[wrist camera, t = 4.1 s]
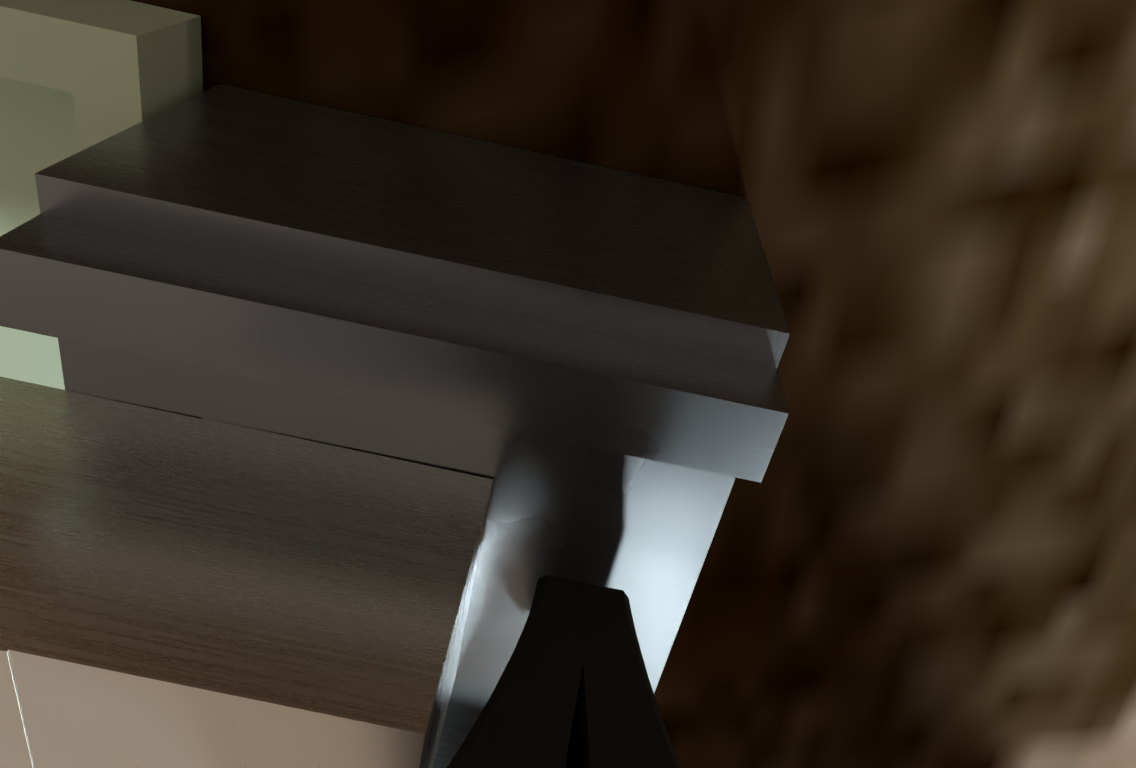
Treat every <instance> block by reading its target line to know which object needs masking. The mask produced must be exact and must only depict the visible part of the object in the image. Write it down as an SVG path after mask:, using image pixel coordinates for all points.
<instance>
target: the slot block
mask: <svg viewBox="0 0 1136 768" xmlns="http://www.w3.org/2000/svg"><path fill="white" fill-rule="evenodd" d="M35 180H36V187H37V194H38V201H39V208H40V215H38V216H36V217H34V218H32V219H31V220H29V221H27V222H25V223H23V224H22V225H20V226H18V227H16V228H14V229H13V230H11V231H9V232H7V233H5V234H4V235H2V236H0V326H3V327H7V328H12V329H17V330H22V331H27V332H32V333H37V334H41V335H46V336H51V337H56V338H58V343H59V350H60V357H61V364H62V372H63V379H64V386H65V390H67V391H72V392H76V393H81V394H86V395H91V396H95V397H100V398H105V399H109V400H114V401H119V402H124V403H128V404H133V405H138V406H142V407H147V408H152V409H157V410H161V411H166V412H171V413H176V414H180V415H185V416H190V417H194V418H199V419H202V418H205V419H210V420H215V421H219V422H224V423H229V424H233V425H238V426H243V427H248V428H252V429H257V430H262V431H266V432H271V433H276V434H281V435H285V436H290V437H295V438H299V439H304V440H309V441H314V442H318V443H323V444H328V445H332V446H337V447H342V448H347V449H351V450H356V451H361V452H365V453H370V454H375V455H380V456H384V457H389V458H394V459H398V460H403V461H408V462H413V463H417V464H422V465H427V466H431V467H436V468H441V469H446V470H450V471H455V472H460V473H465V474H469V475H474V476H479V477H483V478H488V479H493V483H492V488H491V494H490V499H489V504H488V509H487V515H486V520H485V525H484V530H483V536H482V541H481V546H480V551H479V556H478V562H477V567H476V572H475V577H474V583H473V588H472V593H471V598H470V604H469V609H468V614H467V619H466V625H465V630H464V635H463V640H462V645H461V651H460V656H459V661H458V666H457V672H456V676H455V680H454V684H453V688H452V692H451V696H450V700H449V704H448V708H447V712H446V716H445V720H444V724H443V728H442V732H441V736H440V740H439V744H438V748H437V752H436V756H435V760H434V764H433V768H447V767H448V765H449V763H450V762H451V760H452V759H453V757H454V756H455V754H456V753H457V751H458V750H459V748H460V747H461V745H462V743H463V742H464V740H465V738H466V737H467V735H468V733H469V732H470V730H471V728H472V727H473V725H474V723H475V722H476V720H477V718H478V717H479V715H480V713H481V712H482V710H483V708H484V707H485V705H486V703H487V702H488V700H489V698H490V696H491V694H492V693H493V691H494V689H495V687H496V685H497V683H498V681H499V679H500V677H501V675H502V673H503V671H504V669H505V667H506V665H507V663H508V661H509V659H510V657H511V655H512V653H513V651H514V649H515V647H516V645H517V642H518V640H519V638H520V635H521V633H522V631H523V628H524V626H525V623H526V621H527V618H528V615H529V612H530V608H531V604H532V600H533V596H534V592H535V588H536V584H537V580H538V579H540V578H542V577H544V576H546V575H549V576H554V577H559V578H564V579H569V580H574V581H579V582H584V583H589V584H594V585H599V586H603V587H608V588H613V589H618V590H623V591H624V592H625V594H626V595H627V596H628V598H629V602H630V608H631V613H632V617H633V622H634V626H635V630H636V634H637V638H638V642H639V646H640V650H641V653H642V657H643V660H644V663H645V667H646V670H647V674H648V677H649V680H650V683H651V686H652V690H653V693H655V690H656V687H657V685H658V682H659V679H660V677H661V674H662V672H663V669H664V666H665V664H666V661H667V658H668V656H669V653H670V650H671V648H672V645H673V642H674V640H675V637H676V634H677V632H678V629H679V627H680V624H681V621H682V619H683V616H684V613H685V611H686V608H687V605H688V603H689V600H690V597H691V595H692V592H693V590H694V587H695V584H696V582H697V579H698V576H699V574H700V571H701V568H702V566H703V563H704V560H705V558H706V555H707V553H708V550H709V547H710V545H711V542H712V539H713V537H714V534H715V531H716V529H717V526H718V523H719V521H720V518H721V515H722V513H723V510H724V508H725V505H726V502H727V500H728V497H729V494H730V492H731V489H732V486H733V484H734V481H735V478H741V479H745V480H750V481H755V482H760V483H761V482H762V479H763V477H764V474H765V472H766V469H767V467H768V464H769V462H770V459H771V457H772V454H773V452H774V449H775V447H776V444H777V442H778V439H779V437H780V434H781V432H782V429H783V427H784V424H785V422H786V419H787V417H788V414H789V413H788V409H787V405H786V402H785V398H784V394H783V390H782V387H781V383H780V379H779V376H778V372H777V367H778V365H779V362H780V359H781V357H782V354H783V351H784V349H785V346H786V344H787V341H788V338H789V336H790V332H789V328H788V325H787V322H786V319H785V316H784V313H783V310H782V306H781V303H780V300H779V297H778V294H777V291H776V288H775V284H774V281H773V278H772V275H771V272H770V269H769V266H768V262H767V259H766V256H765V253H764V250H763V247H762V244H761V240H760V237H759V234H758V231H757V228H756V225H755V222H754V218H753V215H752V212H751V209H750V206H749V203H748V200H747V198H746V197H741V196H736V195H732V194H727V193H723V192H718V191H713V190H709V189H704V188H700V187H695V186H690V185H686V184H681V183H676V182H672V181H667V180H663V179H658V178H653V177H649V176H644V175H640V174H635V173H630V172H626V171H621V170H617V169H612V168H607V167H603V166H598V165H594V164H589V163H584V162H580V161H575V160H571V159H566V158H561V157H557V156H552V155H548V154H543V153H538V152H534V151H529V150H525V149H520V148H515V147H511V146H506V145H502V144H497V143H492V142H488V141H483V140H479V139H474V138H469V137H465V136H460V135H455V134H451V133H446V132H442V131H437V130H432V129H428V128H423V127H419V126H414V125H409V124H405V123H400V122H396V121H391V120H386V119H382V118H377V117H373V116H368V115H363V114H359V113H354V112H350V111H345V110H340V109H336V108H331V107H327V106H322V105H317V104H313V103H308V102H304V101H299V100H294V99H290V98H285V97H281V96H276V95H271V94H267V93H262V92H257V91H253V90H248V89H244V88H239V87H234V86H230V85H225V84H219V85H217V86H214V87H212V88H210V89H208V90H206V91H204V92H202V93H200V94H198V95H196V96H194V97H192V98H190V99H188V100H186V101H183V102H181V103H179V104H177V105H175V106H173V107H171V108H169V109H167V110H165V111H163V112H161V113H159V114H157V115H155V116H152V117H150V118H148V119H146V120H144V121H142V122H140V123H138V124H136V125H134V126H132V127H130V128H128V129H126V130H123V131H121V132H119V133H117V134H115V135H113V136H111V137H109V138H107V139H105V140H103V141H101V142H99V143H97V144H95V145H92V146H90V147H88V148H86V149H84V150H82V151H80V152H78V153H76V154H74V155H72V156H70V157H68V158H66V159H64V160H61V161H59V162H57V163H55V164H53V165H51V166H49V167H47V168H45V169H43V170H41V171H39V172H37V173H35Z"/></svg>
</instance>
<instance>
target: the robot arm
mask: <svg viewBox="0 0 1136 768" xmlns="http://www.w3.org/2000/svg"><path fill="white" fill-rule="evenodd" d="M447 768H681V767H680V764H679V762H678V759H677V757H676V754H675V751H674V749H673V746H672V744H671V741H670V738H669V736H668V733H667V730H666V727H665V724H664V721H663V719H662V716H661V713H660V710H659V707H658V704H657V702H656V699H655V696H654V693H653V690H652V686H651V683H650V680H649V677H648V674H647V670H646V667H645V663H644V660H643V657H642V653H641V650H640V646H639V642H638V638H637V634H636V630H635V626H634V622H633V617H632V613H631V608H630V602H629V598H628V596H627V595H626V594H625V592H624V591H623V590H618V589H613V588H608V587H603V586H599V585H594V584H589V583H584V582H579V581H574V580H569V579H564V578H559V577H554V576H549V575H546V576H544V577H542V578H540V579H538V580H537V584H536V588H535V592H534V596H533V600H532V604H531V608H530V612H529V615H528V618H527V621H526V623H525V626H524V628H523V631H522V633H521V635H520V638H519V640H518V642H517V645H516V647H515V649H514V651H513V653H512V655H511V657H510V659H509V661H508V663H507V665H506V667H505V669H504V671H503V673H502V675H501V677H500V679H499V681H498V683H497V685H496V687H495V689H494V691H493V693H492V694H491V696H490V698H489V700H488V702H487V703H486V705H485V707H484V708H483V710H482V712H481V713H480V715H479V717H478V718H477V720H476V722H475V723H474V725H473V727H472V728H471V730H470V732H469V733H468V735H467V737H466V738H465V740H464V742H463V743H462V745H461V747H460V748H459V750H458V751H457V753H456V754H455V756H454V757H453V759H452V760H451V762H450V763H449V765H448V767H447Z"/></svg>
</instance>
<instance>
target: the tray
mask: <svg viewBox="0 0 1136 768" xmlns="http://www.w3.org/2000/svg"><path fill="white" fill-rule="evenodd" d="M202 92H203V72H202V40H201V16H199V15H195V14H190V13H186V12H181V11H177V10H172V9H168V8H163V7H158V6H154V5H149V4H145V3H140V2H136V1H131V0H0V236H2V235H4V234H5V233H7V232H9V231H11V230H13V229H14V228H16V227H18V226H20V225H22V224H23V223H25V222H27V221H29V220H31V219H32V218H34V217H36V216H38V215H40V208H39V201H38V194H37V187H36V180H35V173H37V172H39V171H41V170H43V169H45V168H47V167H49V166H51V165H53V164H55V163H57V162H59V161H61V160H64V159H66V158H68V157H70V156H72V155H74V154H76V153H78V152H80V151H82V150H84V149H86V148H88V147H90V146H92V145H95V144H97V143H99V142H101V141H103V140H105V139H107V138H109V137H111V136H113V135H115V134H117V133H119V132H121V131H123V130H126V129H128V128H130V127H132V126H134V125H136V124H138V123H140V122H142V121H144V120H146V119H148V118H150V117H152V116H155V115H157V114H159V113H161V112H163V111H165V110H167V109H169V108H171V107H173V106H175V105H177V104H179V103H181V102H183V101H186V100H188V99H190V98H192V97H194V96H196V95H198V94H200V93H202ZM0 376H1V377H5V378H10V379H15V380H20V381H24V382H29V383H34V384H39V385H43V386H48V387H53V388H57V389H62V390H65V386H64V379H63V372H62V364H61V357H60V350H59V343H58V338H56V337H51V336H46V335H41V334H37V333H32V332H27V331H22V330H17V329H12V328H7V327H3V326H0Z"/></svg>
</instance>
